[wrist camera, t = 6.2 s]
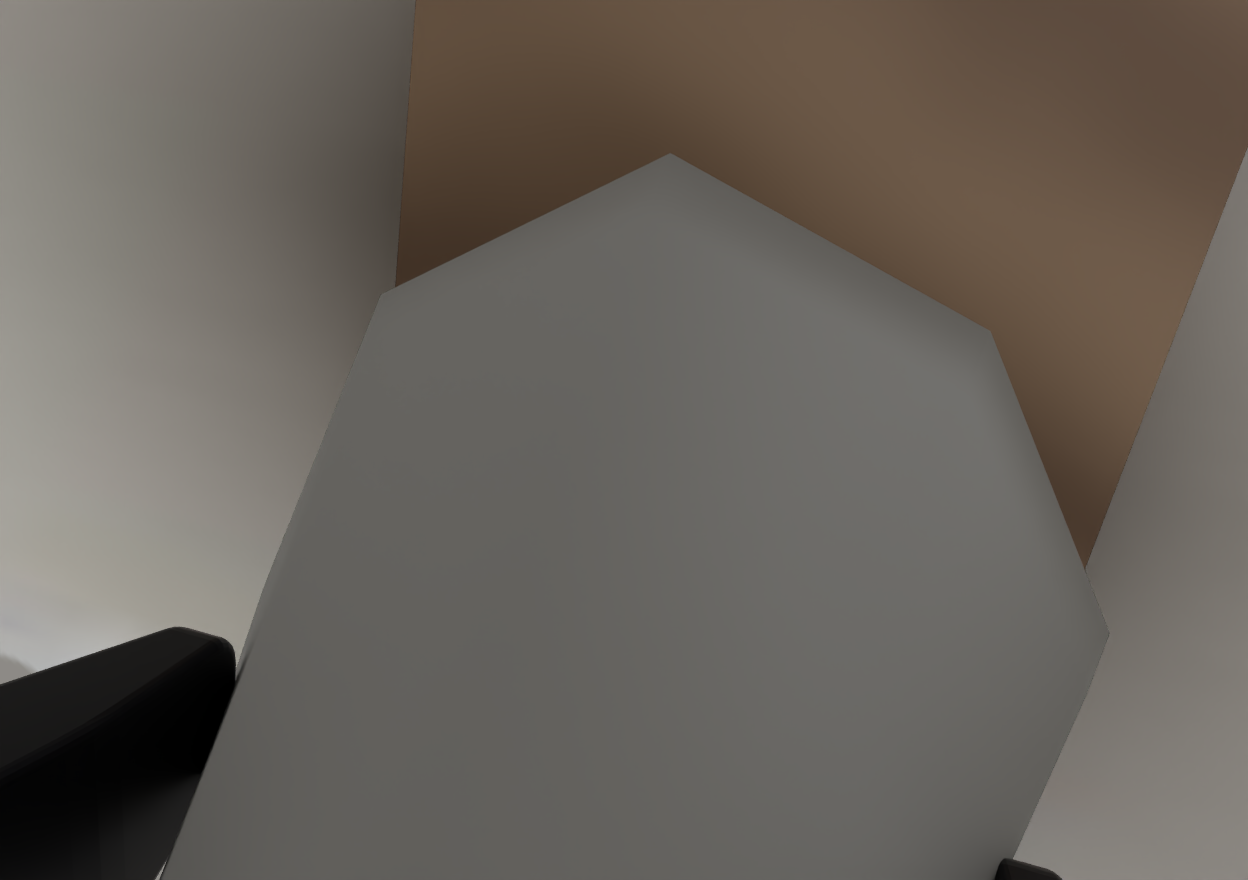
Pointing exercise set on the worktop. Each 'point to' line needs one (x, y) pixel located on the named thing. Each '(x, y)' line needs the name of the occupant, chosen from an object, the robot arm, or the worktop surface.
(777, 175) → the walnut board
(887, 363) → the flask
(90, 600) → the worktop surface
